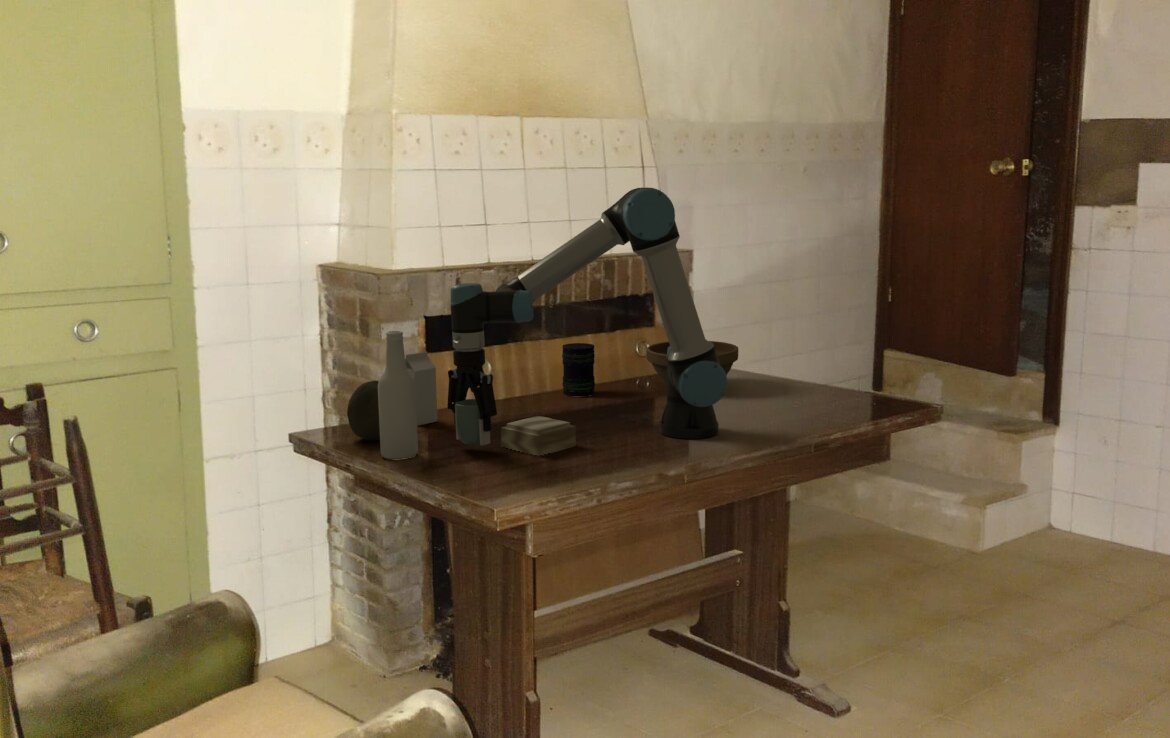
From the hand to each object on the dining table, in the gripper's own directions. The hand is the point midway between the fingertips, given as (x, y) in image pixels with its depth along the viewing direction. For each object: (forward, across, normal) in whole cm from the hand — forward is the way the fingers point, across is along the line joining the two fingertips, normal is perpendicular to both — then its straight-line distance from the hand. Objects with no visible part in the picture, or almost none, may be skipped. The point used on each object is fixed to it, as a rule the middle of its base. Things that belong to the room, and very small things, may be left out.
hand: (473, 441), depth 255 cm
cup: (+1, 0, 0) cm, 1 cm away
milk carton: (+3, -34, +11) cm, 36 cm away
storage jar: (+3, -26, +66) cm, 71 cm away
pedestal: (+3, +9, +14) cm, 16 cm away
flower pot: (+4, -5, +95) cm, 95 cm away
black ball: (+2, -27, -8) cm, 29 cm away
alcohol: (+2, -10, -14) cm, 18 cm away
